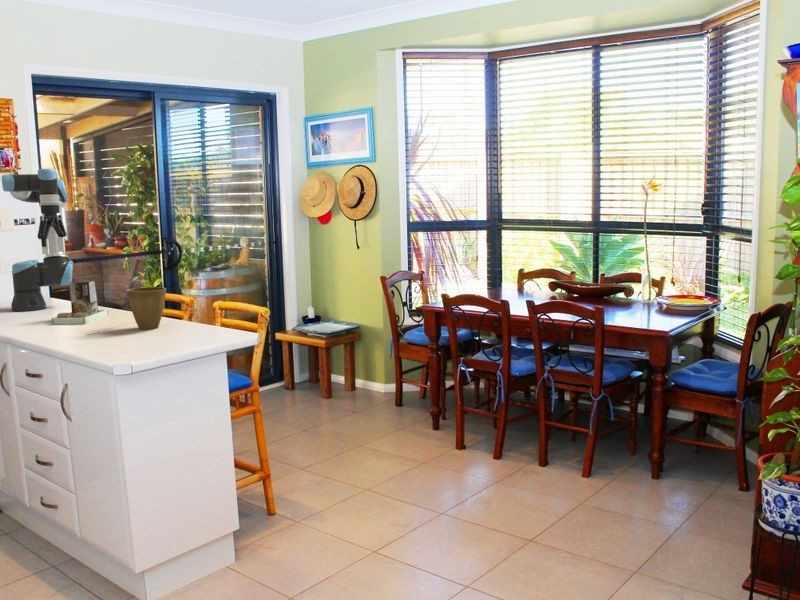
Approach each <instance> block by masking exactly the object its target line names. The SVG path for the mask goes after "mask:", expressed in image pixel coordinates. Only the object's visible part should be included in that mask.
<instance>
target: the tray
mask: <svg viewBox="0 0 800 600" xmlns="http://www.w3.org/2000/svg"><path fill="white" fill-rule="evenodd" d="M69 313H70V315H71V318H57V316H55V317H52V318H51V326H52V325H56V326H58V325H86V324H90V323H92V322H95V321H97V320H100V319H103V318H106V317H108V316H109V309H98V313H96V314H93V315H90V316H87V317H84V318H72V311H71V312H69Z"/></svg>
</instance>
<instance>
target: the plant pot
mask: <svg viewBox="0 0 800 600" xmlns="http://www.w3.org/2000/svg"><path fill="white" fill-rule="evenodd" d="M126 292H127V297H128V298H127V299H128V301H129V302H128V303H129V305H130V309H131V312H132V315H133V318H134V320H135V323H136V325H137V327H138V329H139V330H143V329H147V330H154V329H155V328H156V329H158V328H159V326H160V323H161V320H162V316H163V312H164V308H165V301H166V295H167V288H166V287H160V286H154V287H153V286H149V287H148V286H147V287H144V286H143V287H134V288H127V290H126ZM156 329H155V330H156Z"/></svg>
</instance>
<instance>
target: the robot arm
mask: <svg viewBox="0 0 800 600" xmlns="http://www.w3.org/2000/svg"><path fill="white" fill-rule="evenodd" d="M1 186H2V190H3V192H6V193H7V192H9V193H10V195H11V197H13V198H14V199H16V200H18V201H21V202H25V203H33V204H36V203H37V204H38V206H39V208H40V213H41V214H42V215H43V216H42V215H40V216H39V225H38V226H39V227H38V232H37V239H38V240H40V242H41V244H40V245H41V253H42V255H45V256H44V257H43V259H42V261H43V262H40V261H39V260H38V259H29V260H23V261H20V262H19V261H18V262H15V263H14V264H12V266H11V275H12V285H13V297H12V302H11V305H10V308H11V311H12V312H29V311H30V312H31V311H32V310H33V311H40V310H45V309H47V303H46V299H45V298H44V296H43V294H42V289H41V287H42V288H43V287H55V286H56V287H59V286H60V287H62V286H67V285H68V286H69V283H71V282H73V267H74V262H73V260H70V257H69V256H68V255H67V254H66V246H65V245H66V244H65V238H66V237H67V232H66V228H65V226H64V221H63V220H64V219H63V208H64V207H65V206H66V205H65V203H68V195H67V190H66V186H65V182H64V180H63V179H61V178H58V174H57V169H55V168H39V169H37V173H32V174H30V173H29V174H28V173H24V174H23V173H22V174H20V173H19V174H18V173H17V174H14V173H13V174H11V173H9V174H2V176H1ZM44 308H45V309H44ZM39 309H40V310H39Z"/></svg>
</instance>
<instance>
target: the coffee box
mask: <svg viewBox="0 0 800 600" xmlns="http://www.w3.org/2000/svg"><path fill="white" fill-rule="evenodd" d="M96 281H97V280H75V281H72V282H71V283H69V285H68V286H69V293H70V294H69V295H70V305H71V312H72V318H73V314H75V313H79V312H82V313H87V314H88V316H90V315H93V314H96V313H98V310H99V305H98V295H97V293H98V291H97V283H96Z"/></svg>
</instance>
